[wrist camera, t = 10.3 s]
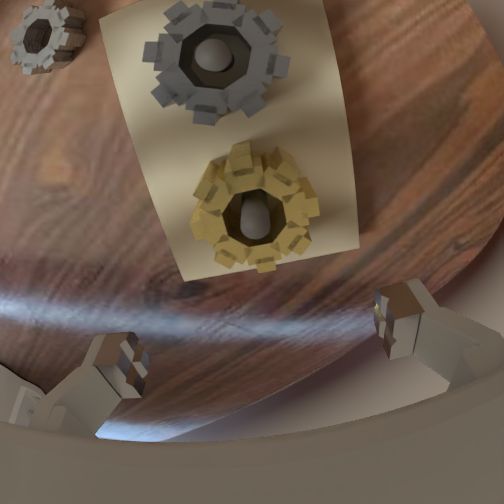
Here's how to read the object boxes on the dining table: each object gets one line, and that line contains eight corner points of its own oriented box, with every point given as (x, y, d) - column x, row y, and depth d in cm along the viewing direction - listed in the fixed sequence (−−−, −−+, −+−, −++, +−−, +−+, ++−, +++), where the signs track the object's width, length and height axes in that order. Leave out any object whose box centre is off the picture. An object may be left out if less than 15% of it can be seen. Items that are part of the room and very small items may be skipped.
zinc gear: (97, 43, 14) (81, 41, 12) (41, 86, 15) (22, 89, 13) (73, -11, 12) (56, -16, 10) (20, 34, 13) (1, 34, 11)
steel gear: (306, 75, 15) (318, 74, 12) (208, 139, 16) (199, 152, 14) (235, -14, 12) (232, -33, 9) (139, 55, 14) (116, 52, 11)
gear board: (352, 236, 21) (379, 284, 17) (187, 268, 23) (173, 321, 18) (306, -28, 12) (327, -63, 8) (109, 22, 14) (62, 10, 9)
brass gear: (315, 232, 20) (325, 260, 17) (215, 252, 20) (210, 282, 17) (298, 131, 16) (308, 143, 14) (185, 156, 17) (172, 173, 14)
